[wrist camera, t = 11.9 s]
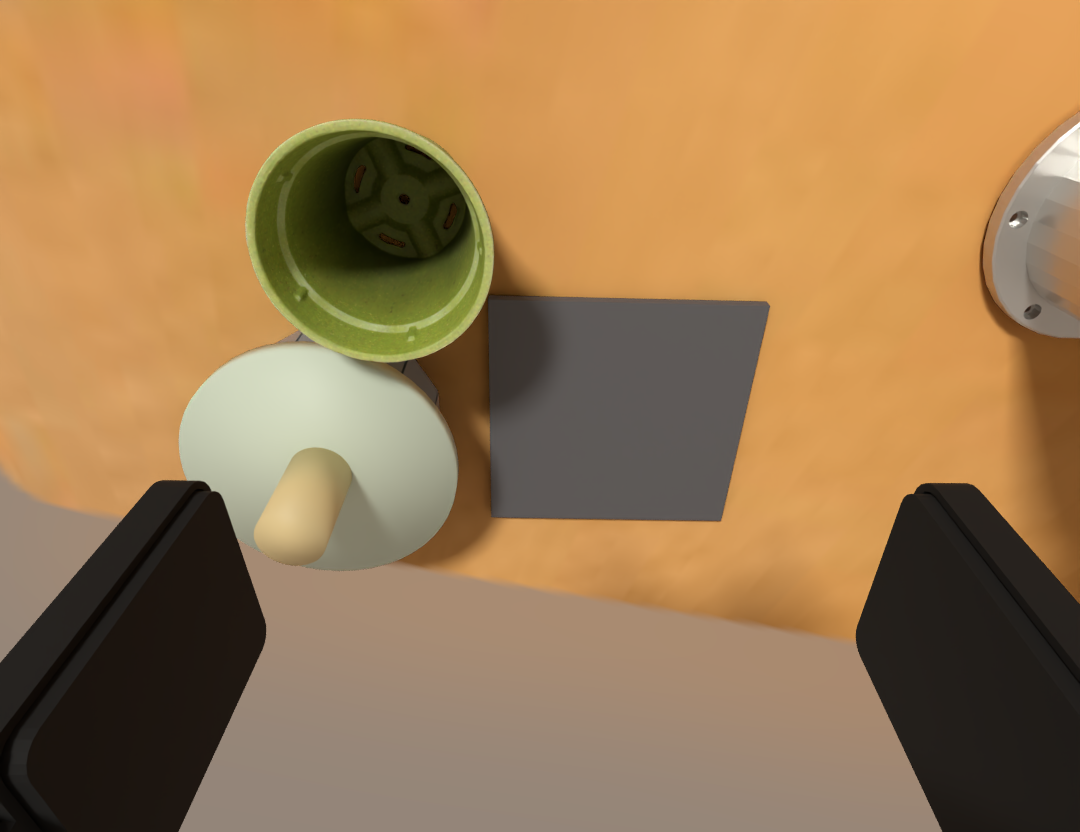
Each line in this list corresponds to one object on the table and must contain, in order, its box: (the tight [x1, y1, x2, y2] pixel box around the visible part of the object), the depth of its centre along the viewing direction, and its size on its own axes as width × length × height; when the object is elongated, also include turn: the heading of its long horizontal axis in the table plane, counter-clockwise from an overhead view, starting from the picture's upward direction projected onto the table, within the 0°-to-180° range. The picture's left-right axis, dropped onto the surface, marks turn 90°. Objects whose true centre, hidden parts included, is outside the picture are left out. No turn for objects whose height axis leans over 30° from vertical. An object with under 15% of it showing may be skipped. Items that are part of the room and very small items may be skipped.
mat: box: [488, 295, 770, 521], centre depth 39 cm, size 15×15×1 cm
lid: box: [179, 341, 459, 571], centre depth 32 cm, size 14×14×6 cm
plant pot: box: [245, 119, 494, 362], centre depth 29 cm, size 9×9×9 cm
